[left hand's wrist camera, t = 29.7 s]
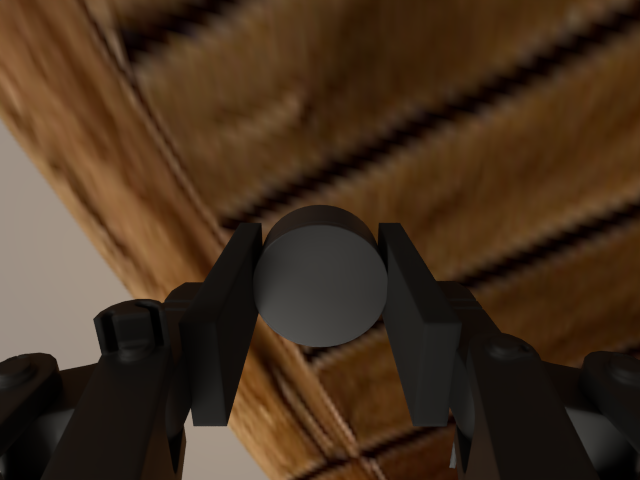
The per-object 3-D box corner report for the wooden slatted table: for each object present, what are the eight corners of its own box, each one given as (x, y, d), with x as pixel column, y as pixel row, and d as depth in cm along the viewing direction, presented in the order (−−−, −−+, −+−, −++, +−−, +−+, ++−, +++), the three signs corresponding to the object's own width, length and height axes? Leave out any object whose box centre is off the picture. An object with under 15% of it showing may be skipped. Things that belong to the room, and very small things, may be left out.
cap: (402, 249, 14) (417, 277, 12) (331, 330, 15) (333, 368, 13) (307, 180, 13) (305, 196, 11) (239, 271, 14) (225, 302, 12)
